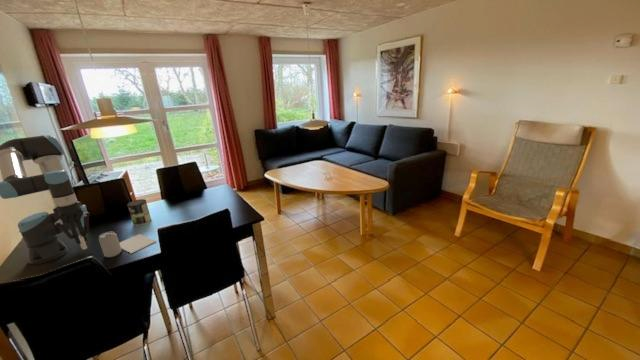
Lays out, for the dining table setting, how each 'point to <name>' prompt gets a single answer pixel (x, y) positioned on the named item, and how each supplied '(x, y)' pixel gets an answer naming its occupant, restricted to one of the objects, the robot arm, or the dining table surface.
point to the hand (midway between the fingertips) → (84, 248)
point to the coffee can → (139, 212)
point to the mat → (136, 243)
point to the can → (110, 244)
